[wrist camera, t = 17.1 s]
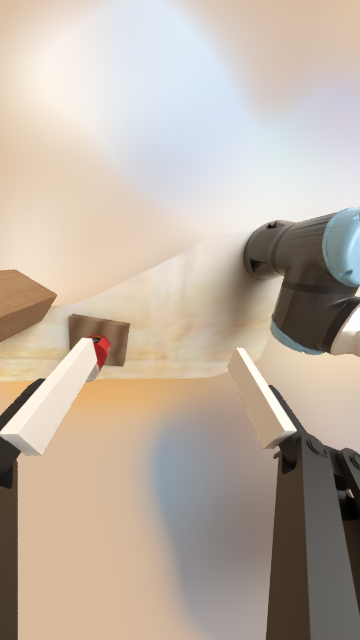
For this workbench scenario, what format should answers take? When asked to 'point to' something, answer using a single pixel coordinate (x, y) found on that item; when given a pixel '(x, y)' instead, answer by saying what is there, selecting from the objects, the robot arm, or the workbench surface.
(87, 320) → the walnut board
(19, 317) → the wooden block
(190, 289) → the workbench surface
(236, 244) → the workbench surface
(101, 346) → the canned food
